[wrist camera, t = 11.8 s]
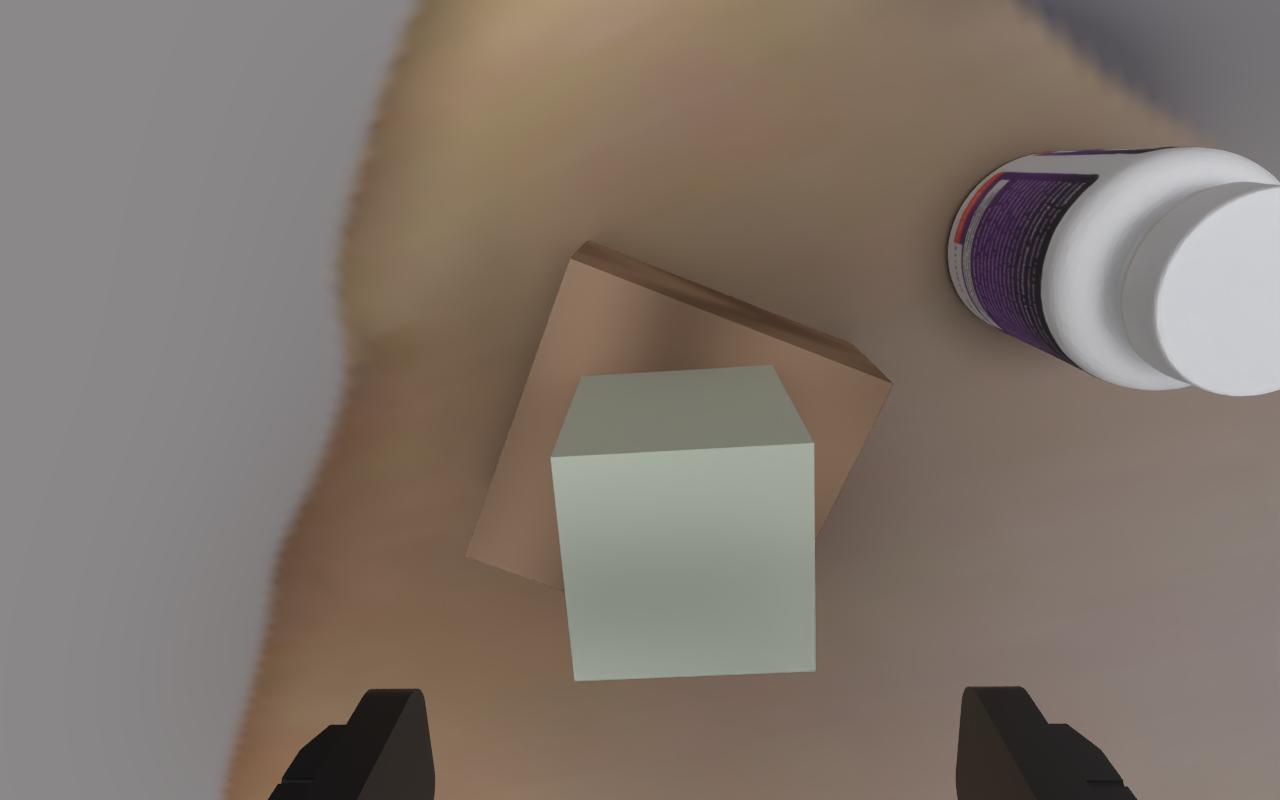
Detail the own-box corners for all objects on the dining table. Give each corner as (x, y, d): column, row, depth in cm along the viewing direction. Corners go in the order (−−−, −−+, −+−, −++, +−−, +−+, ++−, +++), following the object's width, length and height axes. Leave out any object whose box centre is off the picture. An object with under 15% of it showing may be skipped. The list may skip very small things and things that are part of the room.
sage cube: (772, 364, 21) (813, 443, 15) (775, 538, 22) (815, 671, 16) (581, 376, 21) (550, 457, 15) (597, 547, 22) (574, 681, 17)
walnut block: (851, 342, 25) (893, 383, 21) (740, 574, 28) (756, 659, 23) (588, 239, 25) (570, 258, 20) (499, 486, 27) (464, 556, 22)
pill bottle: (985, 361, 25) (1172, 478, 16) (914, 211, 24) (1071, 242, 15) (1152, 276, 24) (1455, 347, 15) (1086, 115, 23) (1372, 82, 14)
